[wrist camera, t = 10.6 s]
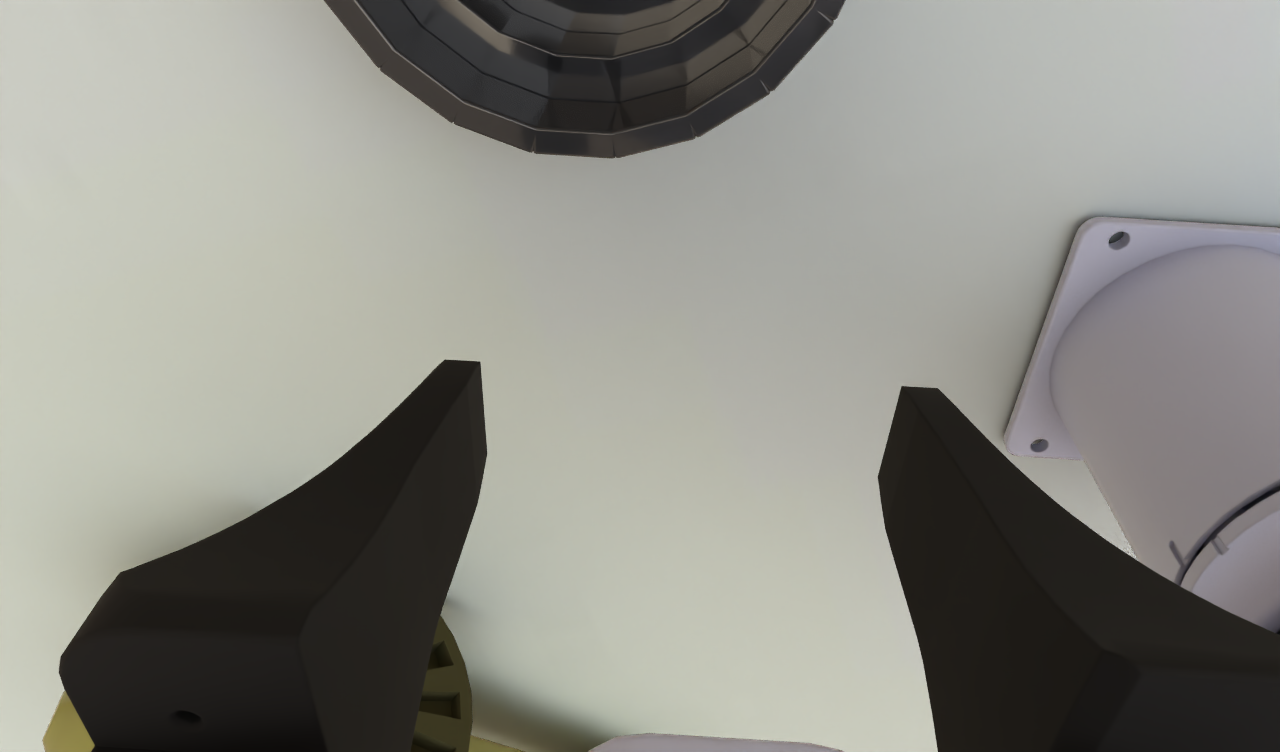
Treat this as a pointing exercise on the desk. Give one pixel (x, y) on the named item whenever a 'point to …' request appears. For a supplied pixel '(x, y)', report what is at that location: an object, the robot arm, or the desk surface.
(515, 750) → the cannon
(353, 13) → the bowl
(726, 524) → the desk surface
